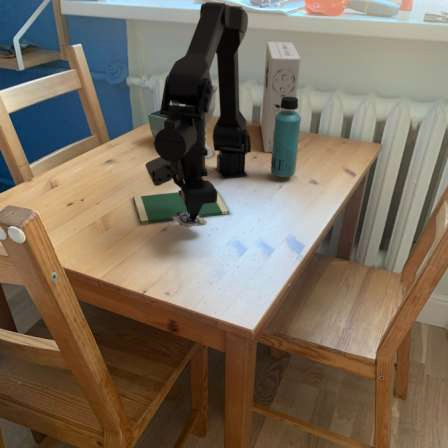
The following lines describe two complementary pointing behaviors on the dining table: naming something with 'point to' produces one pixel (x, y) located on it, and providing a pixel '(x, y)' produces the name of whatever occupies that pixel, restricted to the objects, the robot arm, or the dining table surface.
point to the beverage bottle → (286, 139)
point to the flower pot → (156, 122)
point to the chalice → (208, 117)
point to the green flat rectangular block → (172, 207)
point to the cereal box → (278, 85)
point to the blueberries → (188, 220)
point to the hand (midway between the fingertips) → (191, 215)
